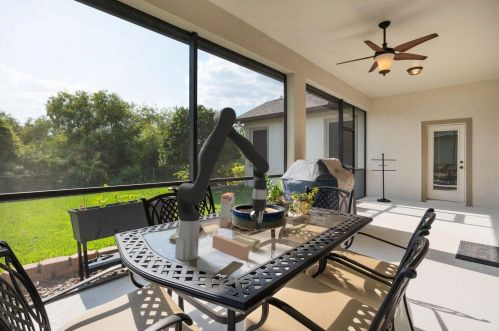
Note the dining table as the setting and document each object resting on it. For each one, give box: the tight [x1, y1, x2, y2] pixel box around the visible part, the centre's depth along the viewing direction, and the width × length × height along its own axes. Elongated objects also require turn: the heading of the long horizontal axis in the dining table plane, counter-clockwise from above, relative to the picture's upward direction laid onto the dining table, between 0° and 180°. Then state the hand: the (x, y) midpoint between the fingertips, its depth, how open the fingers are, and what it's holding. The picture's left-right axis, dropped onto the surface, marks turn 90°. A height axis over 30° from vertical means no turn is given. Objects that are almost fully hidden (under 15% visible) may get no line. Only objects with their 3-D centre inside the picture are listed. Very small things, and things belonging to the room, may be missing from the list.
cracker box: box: [218, 192, 236, 229], centre depth 183 cm, size 14×6×21 cm, turn 168°
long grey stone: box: [168, 222, 202, 244], centre depth 159 cm, size 35×5×10 cm
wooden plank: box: [213, 260, 244, 276], centre depth 113 cm, size 17×1×5 cm
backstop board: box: [211, 234, 250, 261], centre depth 133 cm, size 3×22×6 cm, turn 48°
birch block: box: [234, 233, 261, 253], centre depth 142 cm, size 6×12×5 cm, turn 46°
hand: (257, 229), depth 148 cm, fingers closed
